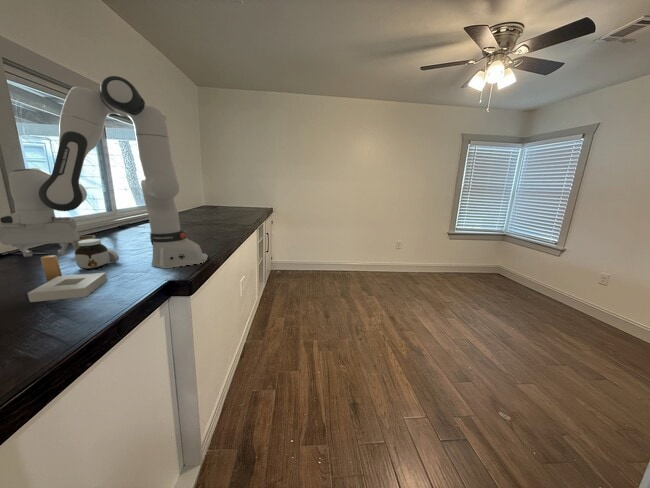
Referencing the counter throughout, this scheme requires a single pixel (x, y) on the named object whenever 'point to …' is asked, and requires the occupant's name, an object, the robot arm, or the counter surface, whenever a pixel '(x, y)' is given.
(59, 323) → the counter surface
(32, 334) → the counter surface
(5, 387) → the counter surface
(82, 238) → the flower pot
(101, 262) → the spread jar
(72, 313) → the counter surface
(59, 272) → the amber upright block
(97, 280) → the housing
